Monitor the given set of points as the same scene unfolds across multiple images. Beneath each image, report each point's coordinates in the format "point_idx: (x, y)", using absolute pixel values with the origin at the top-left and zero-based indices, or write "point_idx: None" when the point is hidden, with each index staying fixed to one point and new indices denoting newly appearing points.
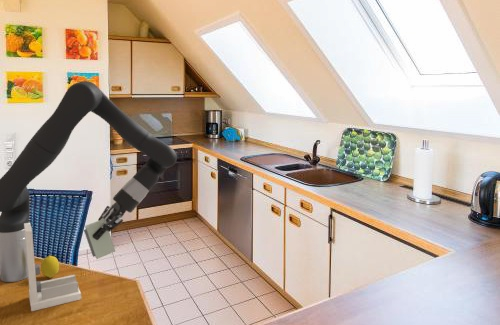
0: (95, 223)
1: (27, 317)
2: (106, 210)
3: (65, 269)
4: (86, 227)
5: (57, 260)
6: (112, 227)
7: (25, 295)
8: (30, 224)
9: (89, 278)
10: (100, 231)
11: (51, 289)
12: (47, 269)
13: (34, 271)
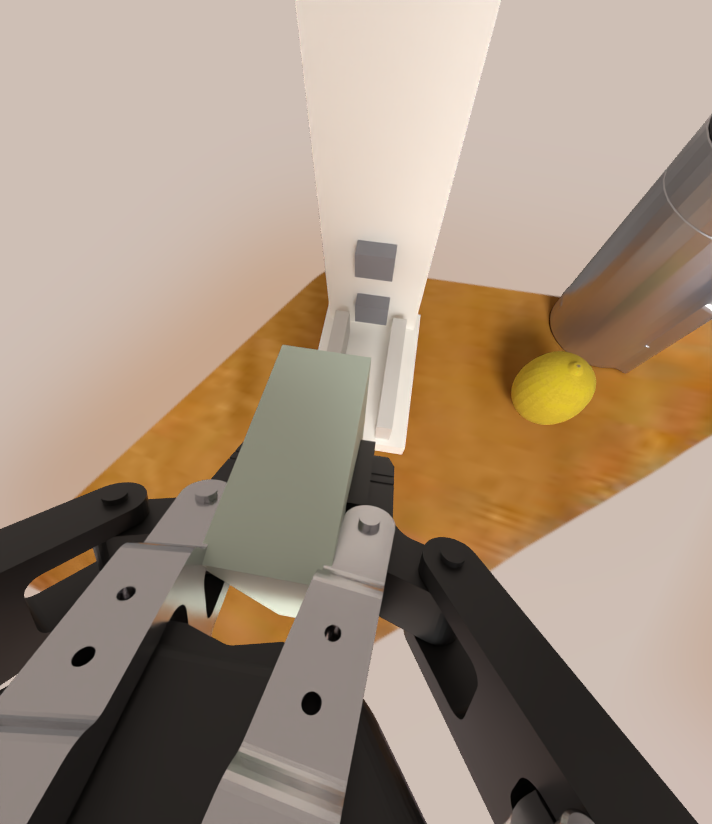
0: (296, 441)
1: (306, 302)
2: (570, 802)
3: (579, 469)
4: (307, 353)
5: (556, 404)
6: (56, 593)
7: (437, 322)
8: None
9: (444, 518)
10: (217, 477)
11: (330, 337)
12: (519, 372)
13: (321, 230)
